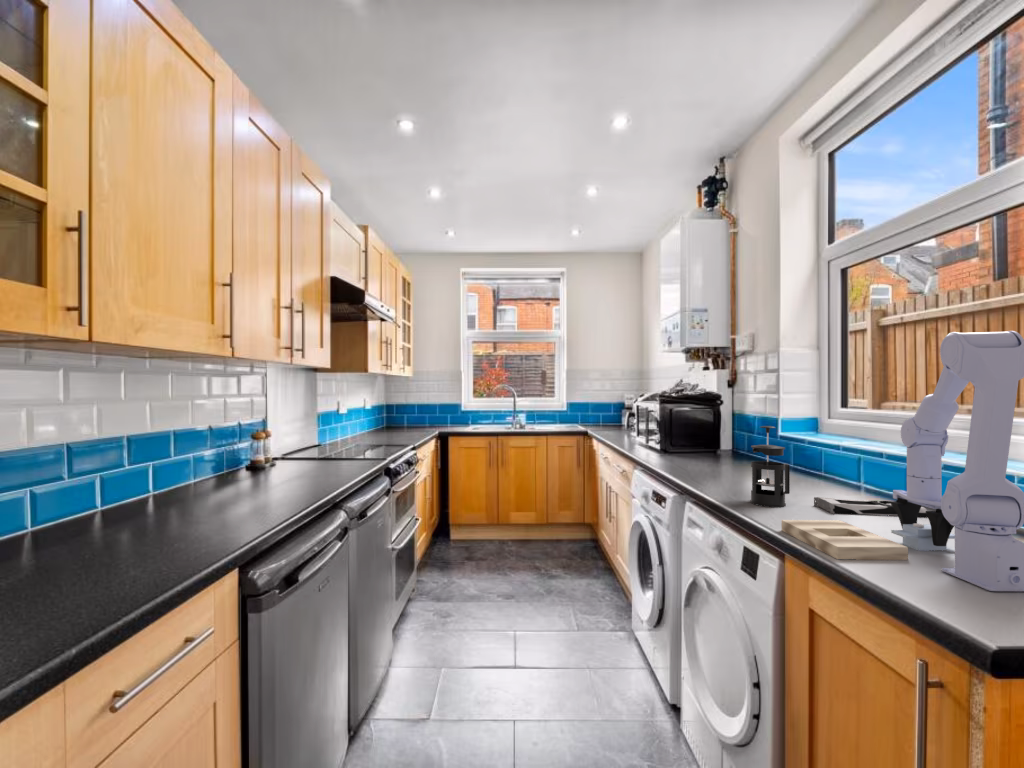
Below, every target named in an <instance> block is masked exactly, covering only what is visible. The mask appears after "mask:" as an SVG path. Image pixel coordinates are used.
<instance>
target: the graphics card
mask: <svg viewBox="0 0 1024 768" xmlns="http://www.w3.org/2000/svg"><path fill="white" fill-rule="evenodd" d="M892 501H893V500H870V499H869V500H867V499H866V500H865V499H843V498H835V497H820V496H817V497H815V496H814V497H813V507H818V508H820V509H823V510H825V511H826V512H829V513H830V514H832V515H835V514H836V515H858V516H859V515H860V516H877V515H887V516H886V517H898V515H897V513H896V511H895V509H894V508H893V506H892V505H891V502H892ZM926 511H928V510H927V508H925V506H921V509H920V511H919V514H918V518H927V517H928V516H927V514H926ZM888 515H889V516H888Z"/></svg>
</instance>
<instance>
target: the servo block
mask: <svg viewBox="0 0 1024 768" xmlns="http://www.w3.org/2000/svg"><path fill="white" fill-rule="evenodd" d="M890 531H891V532H890V533H891V534H893V535H896V536H898V537H901V538H902V545H904V546H906V547H908V548H911V549H913V550H916V551H926V552H927V551H929V550H931V552H932V550H934V551H935V550H942V552H943V550H947V545H948V544H946V546H935V545H933V541H932V530H931V525H930V523H929V524H924V523H923V524H922V523H918V522H917V523H913V524H903V529H893V530H892V529H891V530H890ZM951 539H954V540H955V533H952V532H951V533H950V535H949V538H948V540H951ZM934 551H933V552H934ZM947 551H948V550H947Z"/></svg>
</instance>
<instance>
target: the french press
mask: <svg viewBox="0 0 1024 768" xmlns="http://www.w3.org/2000/svg"><path fill="white" fill-rule="evenodd" d="M759 428H761V429H765V433H766V444H757V445H754V444H753V445H751V446H750V448H752V453H754V454H755V453H761V454H763V455H764V456H766V460H755V461H754V460H753V461H751V462H750V467H751V483H752V484H751V491H750V501H749V502H750V503H751V502H752V503H754V504H753V505H755V504H758V505H757V506H759V505H762V506H761V507H765V506H769V507H768V508H784V506H785V507H786V505H787V503H786V495H790V491H791V489H790V487H791V486H790V485H791V483H790V478H791V477H790V471H791V470H790V468H791V467H790V464H789V463H785V462H784V463H783V462H778V461H769V457H770V456H771V457H773V456H775V457H778V456H779V457H780V456H784V450H786V447H785V446H778V445H774V444H769V434H770V430H771V429H776V427H775V426H772V425H762V426H759ZM763 470H766V473H767V474H766V478H765V479H763V477H762V476H763V475H762V473H763V472H762V471H763ZM769 471H774V472H773V473H774V476H773V477H774V480H773V479H770V478H769ZM762 487H770V488H771V487H773V490H772V489H762ZM752 503H751V504H752Z"/></svg>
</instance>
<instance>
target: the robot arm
mask: <svg viewBox="0 0 1024 768" xmlns="http://www.w3.org/2000/svg"><path fill="white" fill-rule="evenodd" d="M939 353H940V361H941V364H942V366H943V367H942V369H941V373H940V376H939V378H938V381H937V383H936V386H935V388H934V391H933V393H930V394H927V395H925V396H924V397H923V399H922V401H921V402H920V404H919V407H918V409H917V410H916V412H915V414H914V416H912V417H909V418H908V419H906V420H904V421H903V422H902V425H901V427H900V438H901V441H902V443H903V445H904V446H906V490H902V489H893V490H892V499H894V501H893V500H891V501H892V502H891V505H892V506H893V508H894V509H895V511H896V513H897V515H898V516H897V517H898V520H899V522H900V526H901V530H903V524H913V523H918V518H919V517H918V514H919V511H920V509H921V507H924V508H925V507H926V508H929V509H933V510H927V511H926V514H927V516H928V521H929V524H930V525H931V530H932V541H933V545H935V546H946V544H947V543H948V541H949V539H948V538H949V535H950V533H951V534H952V530H953V528H954V535H955V539H954V567H942V568H941V571H942V572H944V573H946V574H949V575H951V576H953V577H956V578H958V579H960V580H962V581H965V582H968V583H969V584H972V585H975V586H977V587H979V588H982V589H983V590H986V591H990V592H1024V542H1022V541H1021V540H1019V539H1017V538H1015V537H1014V536H1013V535H1017V530H1019V529H1021V528H1022V527H1023V526H1024V491H1023V490H1022V489H1021V488H1020V487H1019V486H1018V485H1017V484H1015V483H1013V482H1012V481H1010V480H1009V479H1007V478H1006V476H1007V468H1008V460H1009V454H1010V445H1011V438H1012V434H1013V433H1012V431H1013V425H1014V424H1013V423H1014V415H1015V410H1016V409H1015V408H1016V403H1017V394H1018V389H1019V388H1018V386H1019V381H1021V380H1022V379H1024V337H1023V336H1022V334H1020V333H1019V332H1017V331H1016V330H1007V331H985V332H983V331H981V332H977V331H976V332H958V331H957V332H956V331H952V332H949V333H948V334H946V335H945V337H943V340H942V341H941V344H940V351H939ZM969 383H971V384H972V385H973V387H974V392H973V400H972V408H971V418H970V425H969V432H968V433H969V434H968V440H967V442H968V443H967V450H966V457H965V465H964V467H965V469H964V471H963V472H962V473H960V474H958V475H956V476H954V477H952V478H951V479H949V480H948V481H947V485H946V488H945V491H944V493H943V492H942V491H943V490H942V489H943V488H942V484H943V483H942V481H943V480H942V457H944V456H945V454H946V446H947V444H948V441H949V434H948V430H947V429H948V427H949V426H950V424H951V422H952V421H953V419H954V418H955V416H956V414H957V412H958V411H959V409H960V408H959V407H960V406H959V404H958V402H957V399H958V397H960V395H961V394H962V393H963V391H964V390H965V389H966V388H967V386H968V384H969ZM942 493H943V495H942ZM947 545H948V544H947Z"/></svg>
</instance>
